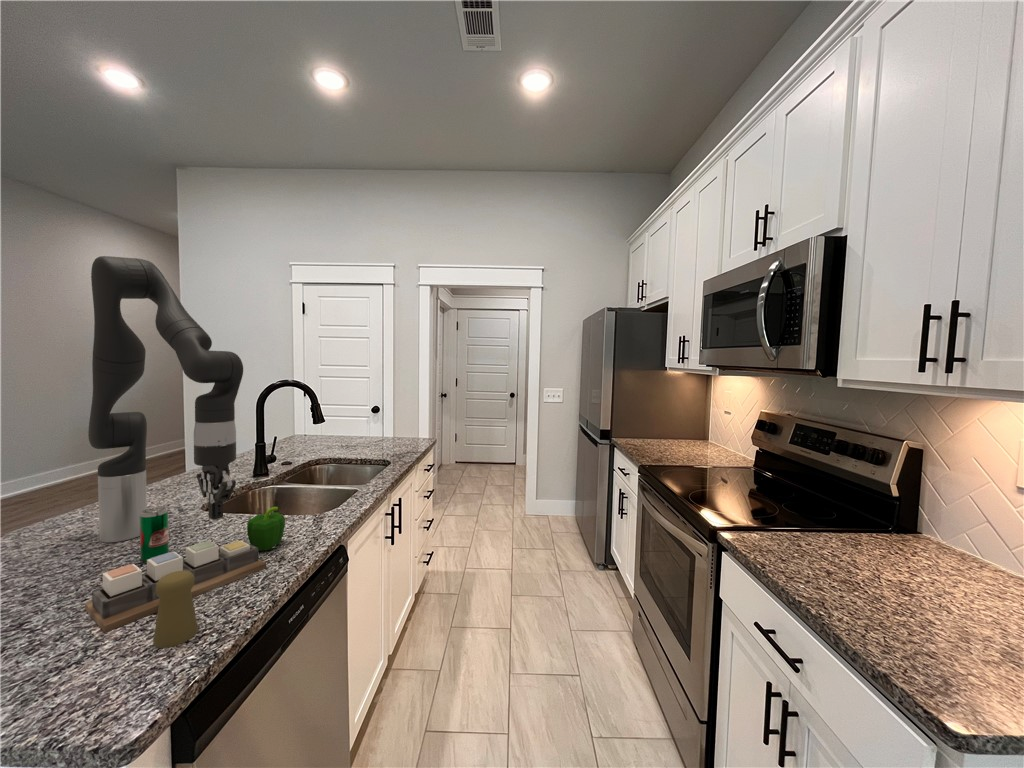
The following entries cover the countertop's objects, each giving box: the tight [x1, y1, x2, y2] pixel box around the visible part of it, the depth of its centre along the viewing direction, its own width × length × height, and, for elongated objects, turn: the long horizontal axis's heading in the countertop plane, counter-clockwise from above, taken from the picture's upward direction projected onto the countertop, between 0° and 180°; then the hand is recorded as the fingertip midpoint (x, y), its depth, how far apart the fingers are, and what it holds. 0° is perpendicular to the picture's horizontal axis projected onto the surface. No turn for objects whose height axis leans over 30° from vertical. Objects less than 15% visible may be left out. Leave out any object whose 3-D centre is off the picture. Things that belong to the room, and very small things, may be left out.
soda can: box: [139, 505, 170, 564], centre depth 95 cm, size 5×5×12 cm
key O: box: [102, 563, 143, 597], centre depth 76 cm, size 4×4×3 cm
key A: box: [185, 540, 220, 567], centre depth 87 cm, size 4×4×3 cm
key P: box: [219, 540, 250, 557], centre depth 92 cm, size 4×4×3 cm
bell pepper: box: [246, 506, 286, 552], centre depth 103 cm, size 8×8×10 cm
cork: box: [152, 570, 199, 649], centre depth 69 cm, size 6×6×11 cm
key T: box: [146, 551, 184, 581], centre depth 81 cm, size 4×4×3 cm
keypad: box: [84, 540, 267, 633], centre depth 84 cm, size 12×27×4 cm, turn 148°
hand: (216, 518), depth 89 cm, fingers closed
